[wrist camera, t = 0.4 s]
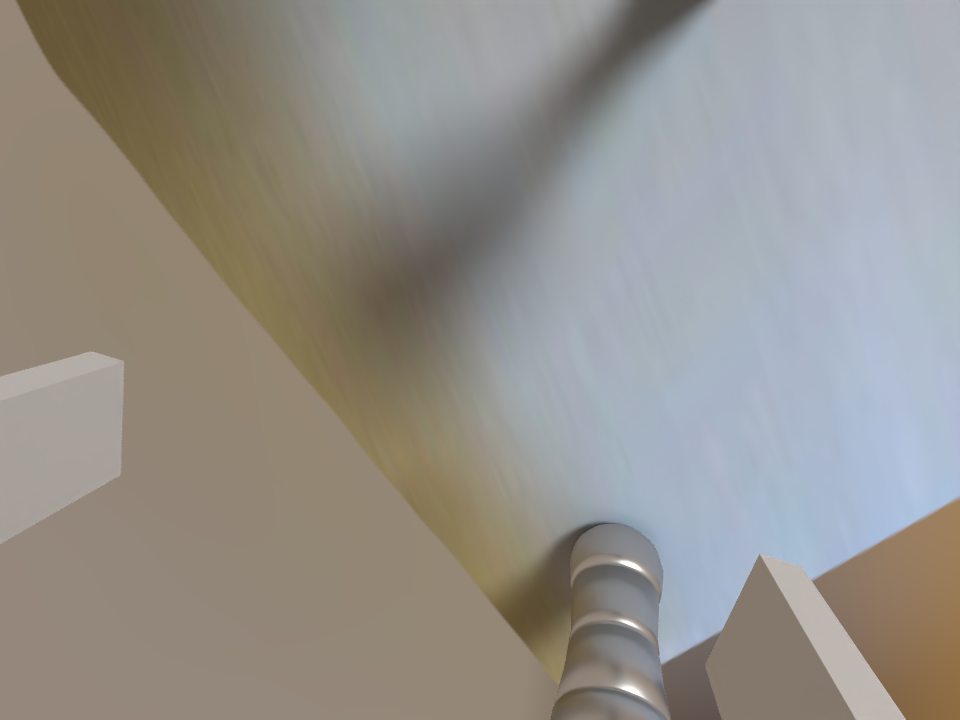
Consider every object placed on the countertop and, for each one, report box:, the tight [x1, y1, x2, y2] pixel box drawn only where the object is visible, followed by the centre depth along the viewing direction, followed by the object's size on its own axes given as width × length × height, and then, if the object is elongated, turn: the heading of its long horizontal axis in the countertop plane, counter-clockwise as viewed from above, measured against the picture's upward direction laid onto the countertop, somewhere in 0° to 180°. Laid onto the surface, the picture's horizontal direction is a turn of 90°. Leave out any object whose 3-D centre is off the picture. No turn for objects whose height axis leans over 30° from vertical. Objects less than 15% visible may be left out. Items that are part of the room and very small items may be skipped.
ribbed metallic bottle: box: [551, 523, 671, 720], centre depth 31 cm, size 6×7×20 cm
